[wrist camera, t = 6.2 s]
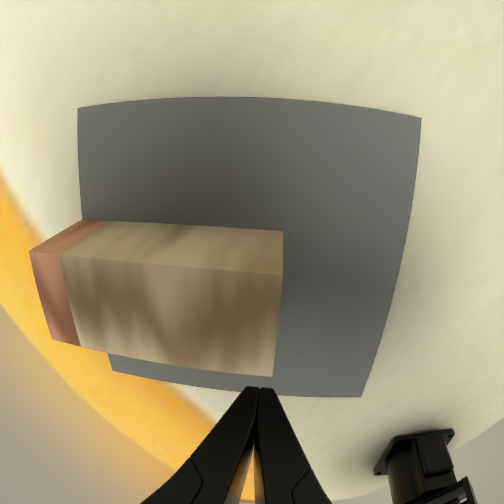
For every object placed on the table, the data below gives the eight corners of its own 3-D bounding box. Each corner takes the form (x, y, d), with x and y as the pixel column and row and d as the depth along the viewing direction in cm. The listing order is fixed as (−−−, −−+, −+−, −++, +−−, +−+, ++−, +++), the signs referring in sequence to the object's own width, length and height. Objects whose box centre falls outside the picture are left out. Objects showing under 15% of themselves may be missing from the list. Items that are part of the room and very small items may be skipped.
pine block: (272, 376, 13) (52, 338, 14) (276, 316, 18) (93, 295, 19) (282, 274, 12) (29, 251, 12) (283, 231, 16) (82, 219, 17)
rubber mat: (359, 392, 21) (360, 397, 20) (115, 366, 22) (112, 370, 21) (417, 118, 14) (421, 118, 13) (82, 108, 15) (77, 108, 15)
